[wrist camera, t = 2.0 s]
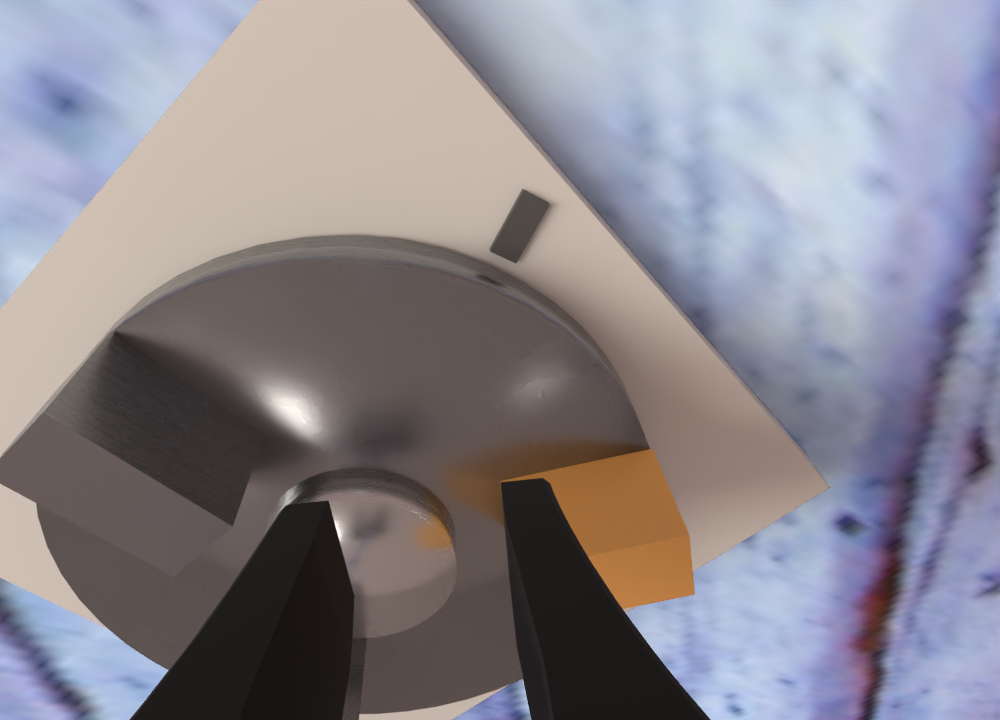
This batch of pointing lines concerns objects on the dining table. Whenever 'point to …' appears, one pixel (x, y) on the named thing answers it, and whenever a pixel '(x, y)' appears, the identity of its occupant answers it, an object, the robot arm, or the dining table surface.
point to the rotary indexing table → (345, 454)
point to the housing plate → (386, 214)
